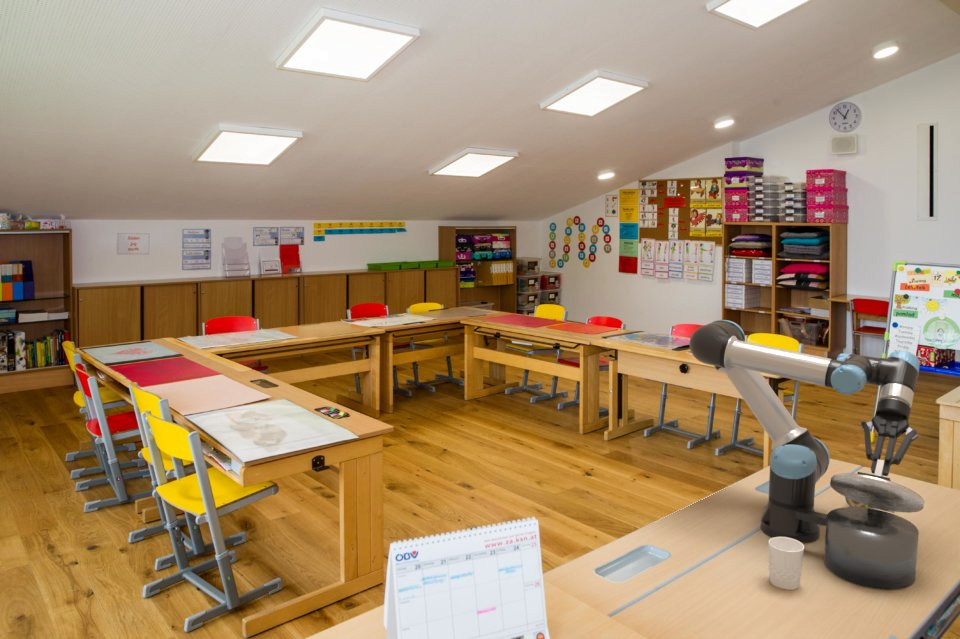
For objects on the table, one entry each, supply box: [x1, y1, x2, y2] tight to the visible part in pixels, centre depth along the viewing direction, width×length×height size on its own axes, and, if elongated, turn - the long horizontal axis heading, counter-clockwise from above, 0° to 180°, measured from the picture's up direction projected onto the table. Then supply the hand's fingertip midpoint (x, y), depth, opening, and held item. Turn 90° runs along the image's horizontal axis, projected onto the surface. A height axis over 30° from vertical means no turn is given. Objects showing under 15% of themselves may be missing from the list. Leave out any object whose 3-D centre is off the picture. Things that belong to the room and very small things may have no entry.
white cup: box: [768, 537, 805, 591], centre depth 171 cm, size 8×8×10 cm
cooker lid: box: [829, 471, 925, 514], centre depth 178 cm, size 21×21×4 cm
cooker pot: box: [795, 506, 920, 591], centre depth 179 cm, size 28×20×12 cm
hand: (876, 485), depth 175 cm, fingers closed
